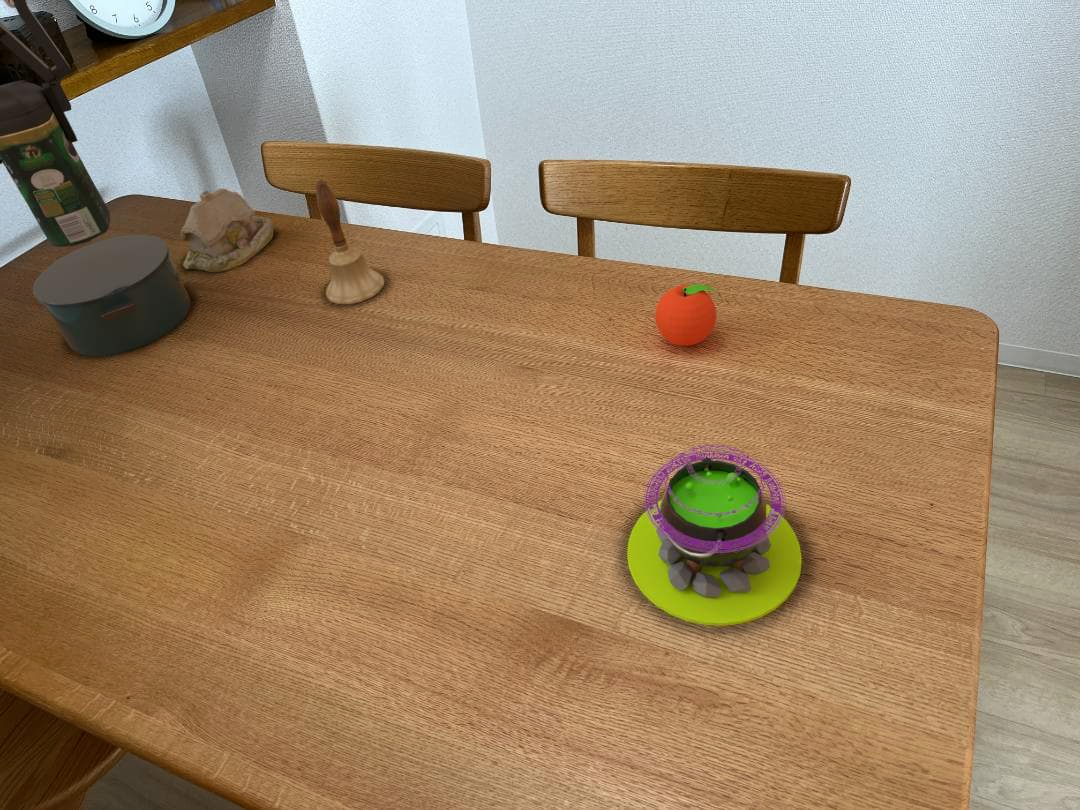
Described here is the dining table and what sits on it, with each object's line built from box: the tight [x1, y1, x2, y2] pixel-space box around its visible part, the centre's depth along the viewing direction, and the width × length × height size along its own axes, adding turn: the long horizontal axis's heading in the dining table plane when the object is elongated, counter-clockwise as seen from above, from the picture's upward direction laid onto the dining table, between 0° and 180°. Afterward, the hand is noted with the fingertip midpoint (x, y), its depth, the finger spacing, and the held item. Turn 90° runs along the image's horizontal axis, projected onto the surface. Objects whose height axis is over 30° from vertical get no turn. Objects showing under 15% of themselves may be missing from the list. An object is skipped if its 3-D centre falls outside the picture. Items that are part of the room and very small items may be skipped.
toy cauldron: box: [626, 444, 803, 627], centre depth 67 cm, size 15×15×11 cm
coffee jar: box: [0, 79, 111, 248], centre depth 100 cm, size 10×8×19 cm
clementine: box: [654, 284, 722, 347], centre depth 92 cm, size 8×7×7 cm
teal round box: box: [32, 234, 191, 357], centre depth 112 cm, size 18×21×9 cm
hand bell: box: [315, 179, 385, 305], centre depth 108 cm, size 8×8×16 cm
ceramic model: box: [180, 188, 274, 273], centre depth 124 cm, size 14×11×10 cm
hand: (36, 149), depth 98 cm, fingers closed on coffee jar, 8 cm apart
